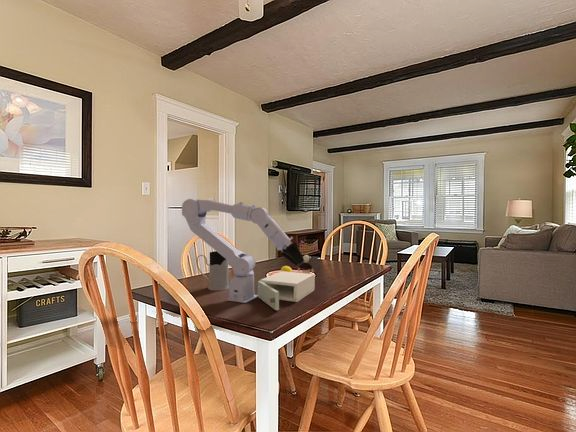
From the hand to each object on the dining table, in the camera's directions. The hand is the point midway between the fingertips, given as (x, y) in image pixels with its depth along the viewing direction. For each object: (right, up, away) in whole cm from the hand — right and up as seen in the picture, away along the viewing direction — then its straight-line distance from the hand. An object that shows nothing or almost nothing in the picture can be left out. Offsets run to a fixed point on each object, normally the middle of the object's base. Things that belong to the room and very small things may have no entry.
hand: (299, 263), depth 115 cm
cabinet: (-4, -13, +10) cm, 17 cm away
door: (-12, -13, -4) cm, 18 cm away
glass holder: (-36, -13, +20) cm, 43 cm away
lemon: (-5, -13, +41) cm, 43 cm away
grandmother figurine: (+4, -13, +27) cm, 30 cm away
